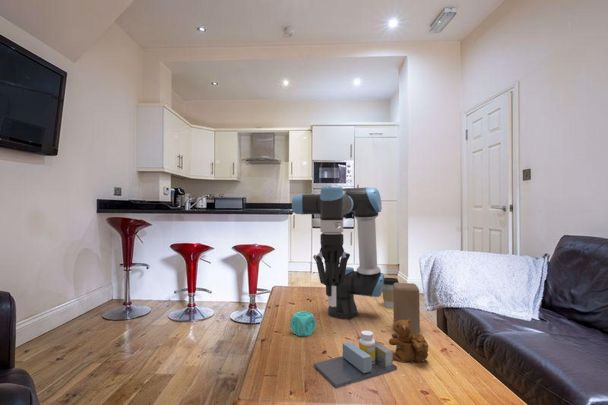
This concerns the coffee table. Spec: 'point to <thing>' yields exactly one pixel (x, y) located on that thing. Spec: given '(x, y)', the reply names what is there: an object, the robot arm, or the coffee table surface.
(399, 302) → the block
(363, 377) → the vise base
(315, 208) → the robot arm
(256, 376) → the coffee table surface
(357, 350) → the sliding jaw
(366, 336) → the supplement bottle
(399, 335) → the stuffed squirrel
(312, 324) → the decorative dice
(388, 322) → the coffee table surface
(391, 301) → the coffee cup
